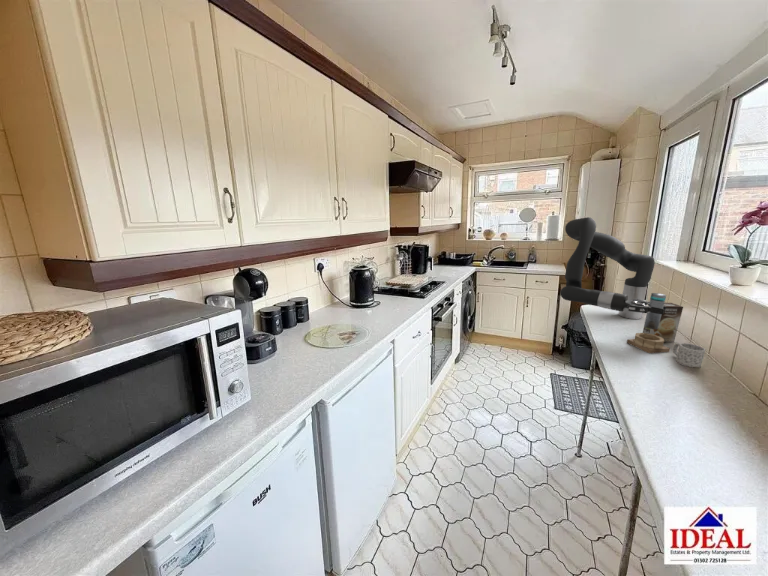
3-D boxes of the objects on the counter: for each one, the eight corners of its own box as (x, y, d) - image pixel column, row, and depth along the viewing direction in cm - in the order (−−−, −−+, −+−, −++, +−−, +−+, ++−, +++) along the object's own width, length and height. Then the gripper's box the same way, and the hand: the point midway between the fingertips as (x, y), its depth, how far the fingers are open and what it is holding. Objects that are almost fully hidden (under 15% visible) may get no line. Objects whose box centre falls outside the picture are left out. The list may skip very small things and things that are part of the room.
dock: (645, 341, 130) (647, 331, 129) (669, 351, 120) (671, 341, 119) (626, 342, 129) (628, 333, 128) (649, 353, 119) (651, 342, 118)
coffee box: (652, 341, 130) (660, 306, 126) (641, 335, 136) (648, 301, 132) (675, 342, 129) (683, 306, 125) (663, 335, 135) (671, 302, 131)
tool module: (650, 325, 125) (658, 292, 121) (661, 329, 120) (669, 295, 117) (640, 325, 124) (648, 293, 121) (651, 329, 120) (659, 296, 116)
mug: (706, 367, 108) (710, 351, 106) (686, 367, 108) (691, 350, 107) (681, 355, 118) (685, 339, 116) (663, 354, 118) (667, 339, 116)
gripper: (609, 295, 125) (664, 305, 113) (618, 289, 134) (669, 297, 122) (606, 312, 127) (659, 323, 115) (614, 305, 136) (665, 315, 124)
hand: (664, 310), depth 118 cm, fingers closed on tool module, 4 cm apart
